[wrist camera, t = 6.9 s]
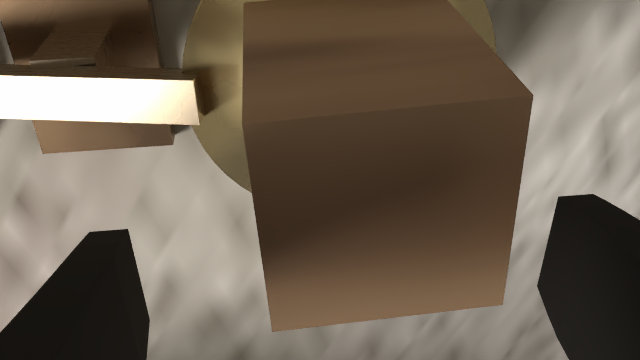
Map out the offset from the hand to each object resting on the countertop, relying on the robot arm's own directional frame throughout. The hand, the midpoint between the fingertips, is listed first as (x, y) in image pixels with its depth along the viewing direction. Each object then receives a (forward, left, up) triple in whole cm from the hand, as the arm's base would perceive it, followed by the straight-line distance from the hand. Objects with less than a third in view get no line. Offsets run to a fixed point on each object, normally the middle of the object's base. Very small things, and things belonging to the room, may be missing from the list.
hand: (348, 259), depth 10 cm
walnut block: (0, -1, -6) cm, 6 cm away
